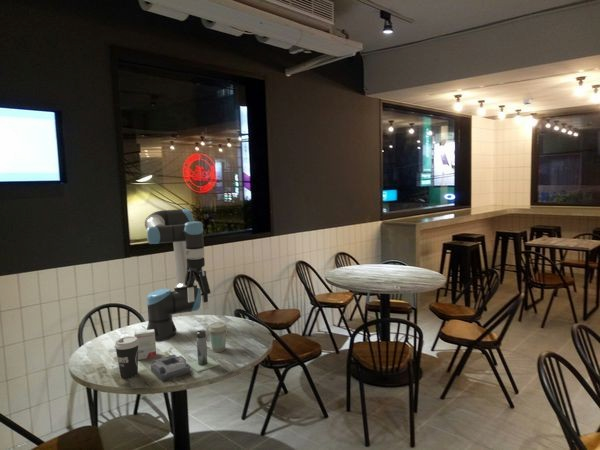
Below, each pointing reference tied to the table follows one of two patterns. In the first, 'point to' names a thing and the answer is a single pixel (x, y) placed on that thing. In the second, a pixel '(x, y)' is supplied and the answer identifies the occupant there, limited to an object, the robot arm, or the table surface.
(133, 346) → the coffee cup
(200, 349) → the dark glossy cylinder
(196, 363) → the mat
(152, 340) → the ink box
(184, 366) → the block
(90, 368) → the table surface
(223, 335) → the coffee cup
